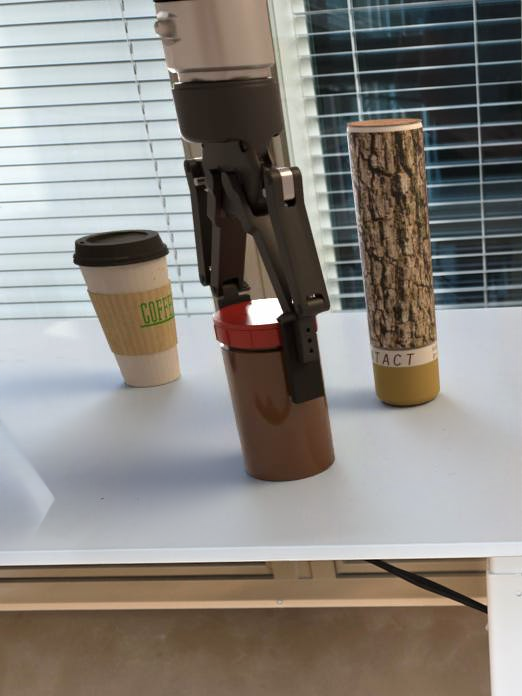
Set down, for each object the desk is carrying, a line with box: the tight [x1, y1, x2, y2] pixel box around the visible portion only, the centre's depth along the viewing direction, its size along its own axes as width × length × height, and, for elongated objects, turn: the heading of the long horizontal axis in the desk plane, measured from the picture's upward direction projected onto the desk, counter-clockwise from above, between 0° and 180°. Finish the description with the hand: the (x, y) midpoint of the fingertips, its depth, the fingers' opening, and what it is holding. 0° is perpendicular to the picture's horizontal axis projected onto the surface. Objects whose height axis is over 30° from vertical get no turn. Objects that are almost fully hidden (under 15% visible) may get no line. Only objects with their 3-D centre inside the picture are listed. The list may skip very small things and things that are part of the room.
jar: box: [219, 332, 336, 482], centre depth 76 cm, size 8×8×12 cm
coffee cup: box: [72, 229, 181, 388], centre depth 98 cm, size 10×10×15 cm
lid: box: [212, 297, 319, 348], centre depth 73 cm, size 8×8×2 cm
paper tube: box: [346, 118, 441, 407], centre depth 86 cm, size 7×7×25 cm
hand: (277, 385), depth 76 cm, fingers open, 9 cm apart
